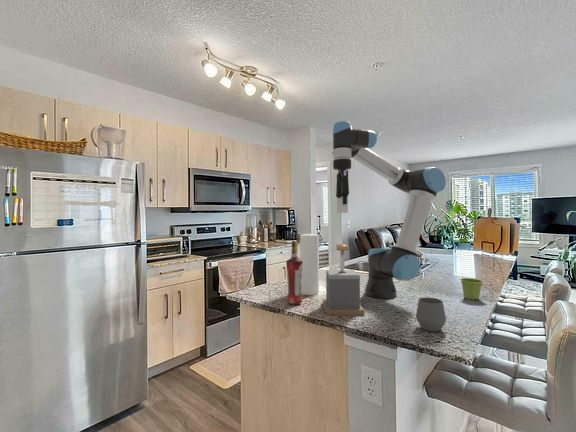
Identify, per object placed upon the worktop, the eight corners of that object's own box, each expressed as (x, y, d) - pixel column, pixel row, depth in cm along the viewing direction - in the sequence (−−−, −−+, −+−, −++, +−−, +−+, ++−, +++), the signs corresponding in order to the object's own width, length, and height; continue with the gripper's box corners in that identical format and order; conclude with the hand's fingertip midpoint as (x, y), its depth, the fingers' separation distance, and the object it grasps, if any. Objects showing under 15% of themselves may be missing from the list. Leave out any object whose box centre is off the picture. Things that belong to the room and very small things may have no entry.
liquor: (291, 300, 141) (290, 240, 141) (305, 302, 138) (305, 240, 137) (283, 304, 134) (283, 241, 134) (298, 306, 131) (298, 242, 131)
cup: (416, 331, 103) (416, 302, 103) (415, 322, 112) (415, 295, 112) (447, 335, 100) (447, 305, 100) (444, 326, 108) (444, 298, 108)
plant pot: (485, 298, 144) (485, 280, 144) (480, 302, 137) (480, 283, 137) (462, 294, 150) (463, 277, 150) (457, 298, 143) (457, 280, 143)
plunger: (350, 280, 132) (350, 244, 132) (354, 285, 123) (354, 246, 123) (330, 280, 132) (330, 244, 132) (333, 285, 124) (333, 246, 123)
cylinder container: (318, 290, 159) (318, 233, 159) (318, 295, 150) (318, 234, 150) (300, 290, 160) (300, 233, 160) (299, 294, 151) (299, 234, 151)
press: (356, 303, 135) (356, 269, 135) (364, 314, 120) (364, 276, 120) (322, 303, 135) (322, 269, 135) (326, 315, 120) (326, 276, 120)
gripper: (329, 164, 139) (329, 212, 139) (337, 154, 116) (337, 212, 116) (346, 164, 139) (346, 212, 139) (356, 154, 116) (356, 212, 116)
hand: (342, 212), depth 128 cm, fingers open, 10 cm apart
